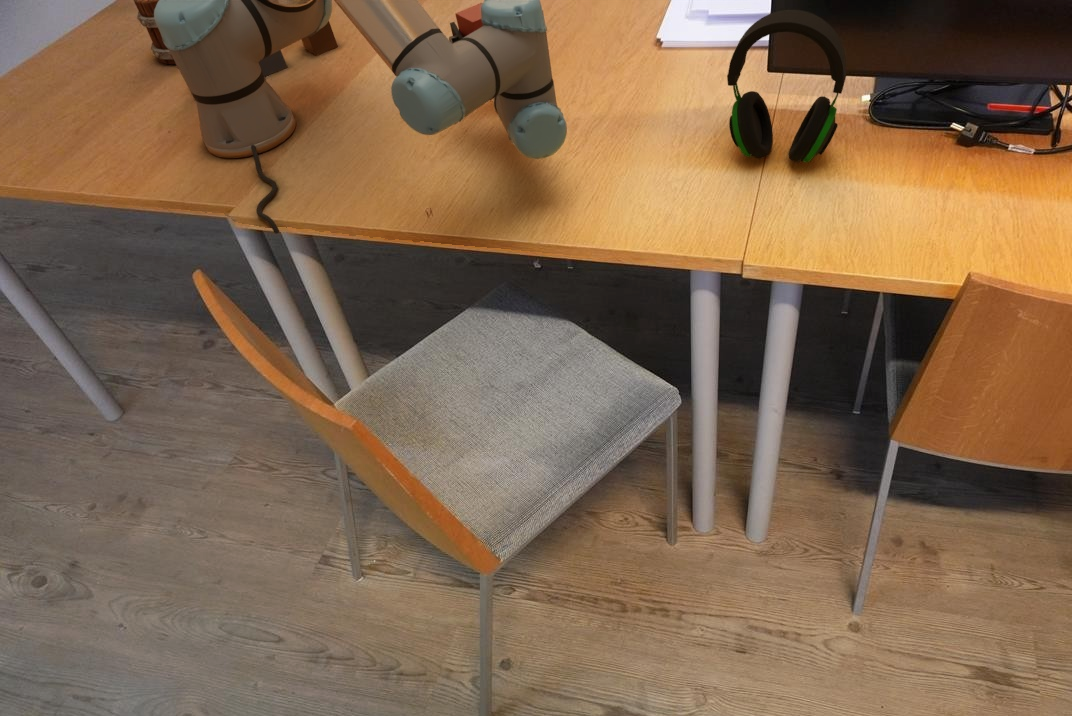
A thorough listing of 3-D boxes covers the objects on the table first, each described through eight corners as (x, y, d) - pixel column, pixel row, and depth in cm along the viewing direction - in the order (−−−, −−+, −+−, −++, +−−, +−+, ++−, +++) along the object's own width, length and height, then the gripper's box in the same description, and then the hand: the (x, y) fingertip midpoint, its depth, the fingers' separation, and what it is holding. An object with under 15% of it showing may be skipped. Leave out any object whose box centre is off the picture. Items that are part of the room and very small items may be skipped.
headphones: (828, 178, 109) (849, 35, 94) (719, 167, 113) (722, 29, 98) (837, 143, 114) (859, 2, 99) (733, 134, 119) (738, -2, 104)
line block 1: (288, 67, 150) (266, 14, 142) (264, 77, 148) (241, 24, 140) (277, 59, 152) (255, 7, 145) (253, 69, 151) (230, 16, 143)
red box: (511, 74, 126) (499, 11, 119) (486, 85, 125) (473, 22, 117) (493, 64, 129) (481, 2, 122) (469, 75, 127) (455, 13, 120)
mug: (139, 63, 157) (107, -19, 147) (194, 44, 167) (167, -34, 157) (182, 69, 153) (152, -15, 143) (235, 49, 163) (210, -31, 153)
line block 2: (338, 47, 154) (320, -6, 146) (315, 56, 152) (296, 3, 144) (327, 39, 156) (308, -13, 149) (304, 48, 155) (284, -4, 147)
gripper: (453, 128, 112) (423, 62, 127) (578, 94, 115) (535, 34, 130) (440, 78, 107) (410, 15, 121) (572, 44, 110) (527, -13, 124)
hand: (475, 25), depth 126 cm, fingers closed on red box, 6 cm apart
